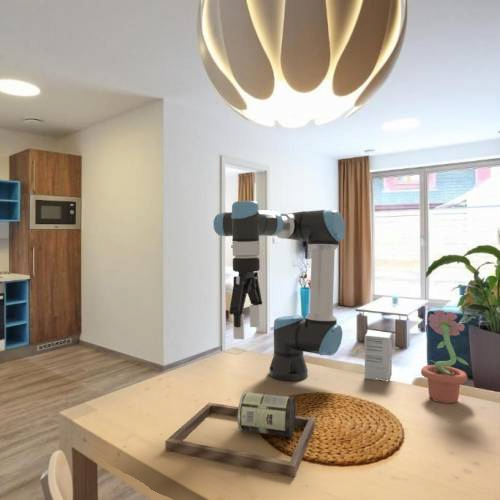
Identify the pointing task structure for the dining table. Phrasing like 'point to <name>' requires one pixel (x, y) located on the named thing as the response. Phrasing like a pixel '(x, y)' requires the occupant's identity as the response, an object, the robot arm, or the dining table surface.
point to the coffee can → (267, 414)
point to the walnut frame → (235, 457)
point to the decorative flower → (441, 375)
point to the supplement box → (378, 355)
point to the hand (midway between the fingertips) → (247, 332)
